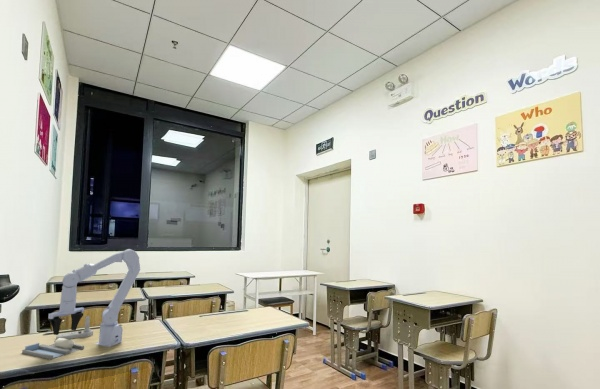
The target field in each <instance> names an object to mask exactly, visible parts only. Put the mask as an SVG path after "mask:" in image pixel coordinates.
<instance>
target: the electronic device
mask: <svg viewBox="0 0 600 389" xmlns="http://www.w3.org/2000/svg"><path fill="white" fill-rule="evenodd" d="M90 317H91V316H90V315H87V316H85V320H84V321H85V322H84V329H83V330H79V331H78V330H77V331H73V332H71V331H70V332H66V333H60V334H58V335H55V337H56V339H55V341H56V340H57V339H58V338H64V339H69V340H73V339H80V338H87V337H91V336H93V335H94V330H93V329H91V328H90V323H91V322H90V320H91V318H90Z"/></svg>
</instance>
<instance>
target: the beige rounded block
mask: <svg viewBox="0 0 600 389" xmlns="http://www.w3.org/2000/svg"><path fill="white" fill-rule="evenodd" d="M53 344H54V346H55V347H58V348H63V349H68V350H70V349H71V348H72V347H73V346H74V344H75V341H74V340H73V339H64V338H58V339H57V340H56V339H55V341H54V343H53Z"/></svg>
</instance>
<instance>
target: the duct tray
mask: <svg viewBox="0 0 600 389" xmlns="http://www.w3.org/2000/svg"><path fill="white" fill-rule="evenodd" d="M24 347H25V348H24V349H22V350H21V351H22V352H21V353H22V354H23V355H29V356H32V357H33V356H34V357H37V358H43V359H47V360H53V359H56V358H60V357H62V356H65V355H69V354H72V353H75V352H78V351H81V350H84V349H85V345H82V344H77V343H74V346H73V347H72V348H71V349H70V350H68V349H63V348H58V347H55V346H54V343H53V344H48V345H47V344H40V342H36V343H33V344H29V345H26V346H24Z"/></svg>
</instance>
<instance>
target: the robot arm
mask: <svg viewBox="0 0 600 389" xmlns="http://www.w3.org/2000/svg"><path fill="white" fill-rule="evenodd" d="M123 262H124V263H125V265H126V267H127V269H128V271H127V272H126V274H125V276H124V278H123V280H122V281H121V283H120V285H119V287H118V289H117V291H116V293H115V295H114V296H113V298H112V301H110V302H109V304H108V306H107V307H106V308H105V309H104V310H103V311H102V313H101V318H102V319H101V320H102V322H100V324H99V334H98V336H99V337H98V342H95V343H94V345H97V346H101V347H112V346H115V345H118V344H121V343H123V342H124V341H123V340H122V339H123V331H124V330H123V327H122V326H121V325H120V324H119V321H118V319H119V312H120V311H121V308H122V305H123V304H124V301H125V300H126V298H127V296H128V294H129V292H130V291H131V288H132V287H133V284H134V283H135V281H136V279H137V277H138V275H139V274H140V271H141V264H140V257H139V254H138V253H137V251H136V250H133V249H131V248H126V249H125V250H121V251H118V252H116V253H114V254H112V255H110V256H108V257H106V258H103V259H102V260H100V261H98V262H97V263H88V264H87V263H85V264H83V266H82V267H80V268H78V269H73V270H71V272H69V273H67V274H65V275H64V276H63V278H62V281H61V282H62V286H61V289H62V290H61V295H60V303H59V310H58V311H55V312H51V313H48V318H47V319H48V321H49V323H50V324H51V327H52V328H51V329H52V331H53V335H54V336H57V335H60V334H59V333H60V328H61V324H62V321H63V318H60V317H65V316H70V317H71V318H70V319H71V323H70V324H71V326H70V327H71V328H70V330H71V331H76V330H77V328H78V325H79V323H80V321H81V319H82V318H83V317H84V312H85V307H83V306H82V307H76V303H77V293H78V289H77V285H78V283H79V282H83V281H85V280H86V279H89V278H91V277H93V276H95V275H96V274H97V272H98V271H99V270H101V269H103V268H106V267H108V266H110V265H112V264H114V263H123Z"/></svg>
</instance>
